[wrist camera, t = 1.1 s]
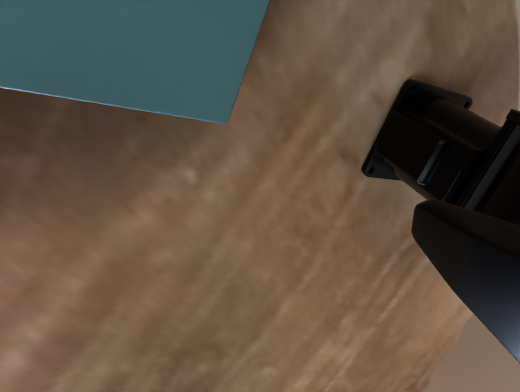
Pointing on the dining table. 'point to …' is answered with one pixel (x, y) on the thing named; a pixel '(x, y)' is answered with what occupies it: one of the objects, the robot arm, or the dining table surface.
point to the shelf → (132, 52)
